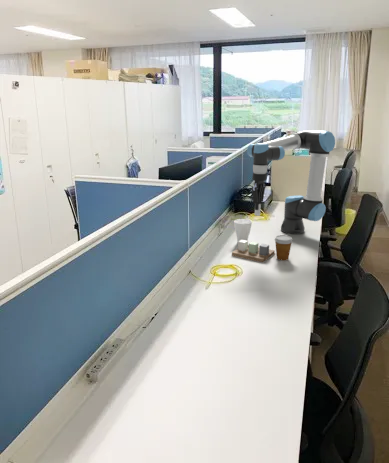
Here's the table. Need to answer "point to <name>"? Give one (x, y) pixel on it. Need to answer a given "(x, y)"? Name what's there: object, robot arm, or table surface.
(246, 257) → the button board
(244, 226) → the cup
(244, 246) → the white block
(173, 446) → the table surface
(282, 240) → the disposable coffee cup
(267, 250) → the gray button
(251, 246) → the pale green block
